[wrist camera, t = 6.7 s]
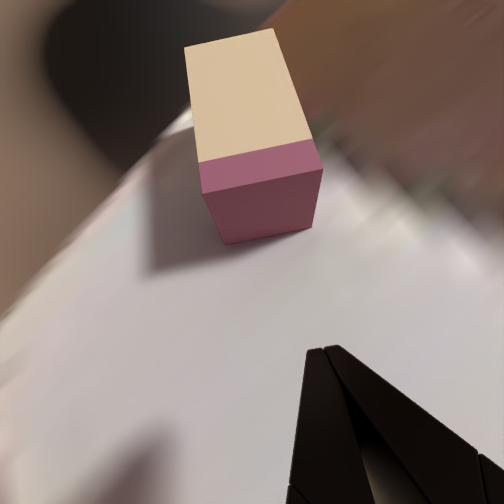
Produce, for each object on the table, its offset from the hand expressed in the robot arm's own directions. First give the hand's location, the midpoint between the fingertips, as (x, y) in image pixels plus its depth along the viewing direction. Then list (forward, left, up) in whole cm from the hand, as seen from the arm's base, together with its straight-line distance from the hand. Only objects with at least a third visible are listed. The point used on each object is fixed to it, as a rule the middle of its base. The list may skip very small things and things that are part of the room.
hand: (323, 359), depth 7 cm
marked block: (+8, +1, -6) cm, 10 cm away
